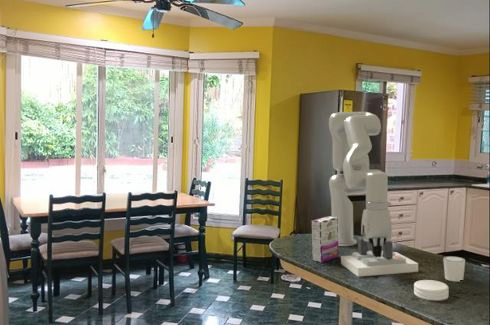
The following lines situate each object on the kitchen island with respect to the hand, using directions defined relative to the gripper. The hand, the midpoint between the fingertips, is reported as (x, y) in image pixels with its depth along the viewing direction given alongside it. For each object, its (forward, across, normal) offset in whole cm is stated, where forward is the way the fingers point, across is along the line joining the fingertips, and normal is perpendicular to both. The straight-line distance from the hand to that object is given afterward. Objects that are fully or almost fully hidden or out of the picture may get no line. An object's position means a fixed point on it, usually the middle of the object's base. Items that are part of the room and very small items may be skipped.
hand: (376, 255), depth 168 cm
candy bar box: (+6, +13, -20) cm, 24 cm away
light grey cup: (+6, -22, +14) cm, 26 cm away
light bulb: (+6, -7, -20) cm, 22 cm away
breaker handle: (+1, -4, 0) cm, 4 cm away
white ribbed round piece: (+6, -6, +26) cm, 27 cm away
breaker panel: (+6, -2, -4) cm, 7 cm away
